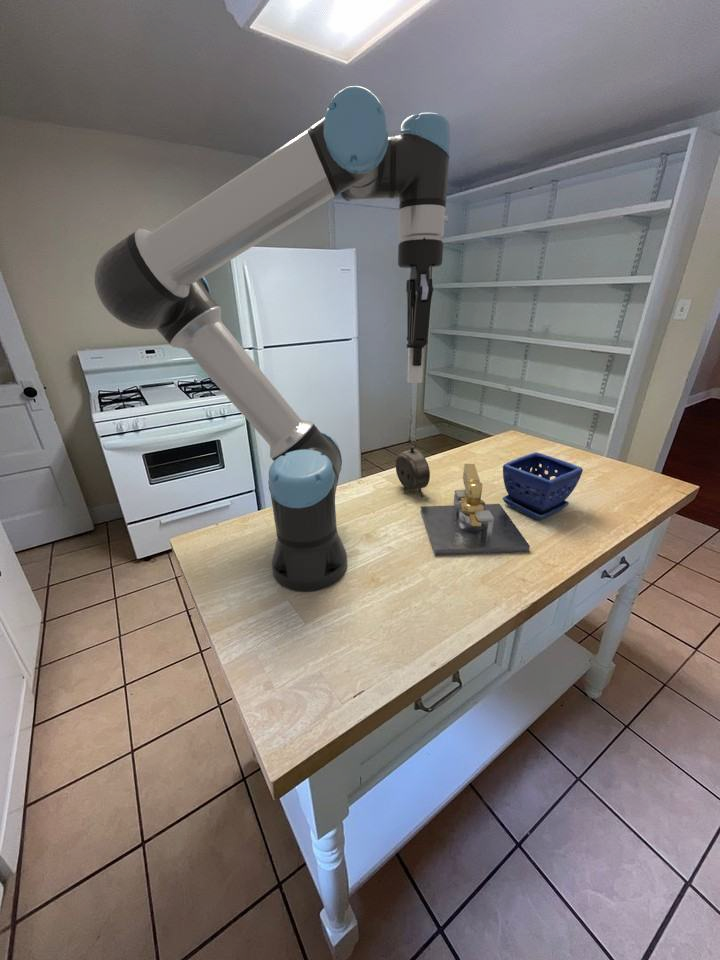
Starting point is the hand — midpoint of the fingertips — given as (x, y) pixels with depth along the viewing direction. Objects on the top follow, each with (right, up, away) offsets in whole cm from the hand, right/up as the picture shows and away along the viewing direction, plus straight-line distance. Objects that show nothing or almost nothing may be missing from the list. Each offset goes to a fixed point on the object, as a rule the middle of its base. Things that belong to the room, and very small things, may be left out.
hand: (414, 382), depth 75 cm
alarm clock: (+3, -23, +32) cm, 39 cm away
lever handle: (+15, -25, +14) cm, 32 cm away
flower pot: (+34, -26, +23) cm, 48 cm away
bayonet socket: (+15, -31, +14) cm, 37 cm away
